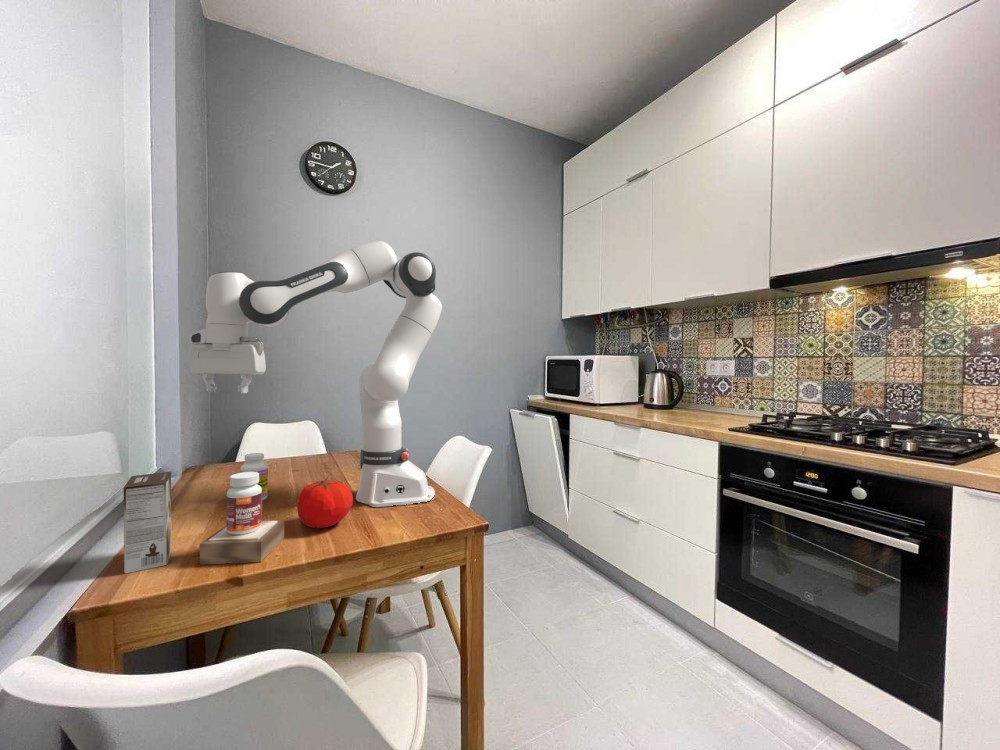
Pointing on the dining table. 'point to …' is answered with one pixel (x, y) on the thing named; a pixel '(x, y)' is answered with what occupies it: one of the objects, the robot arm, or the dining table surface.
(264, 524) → the base
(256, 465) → the supplement bottle
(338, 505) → the tomato
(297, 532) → the dining table surface
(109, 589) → the dining table surface
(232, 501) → the pill bottle
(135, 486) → the coffee box
